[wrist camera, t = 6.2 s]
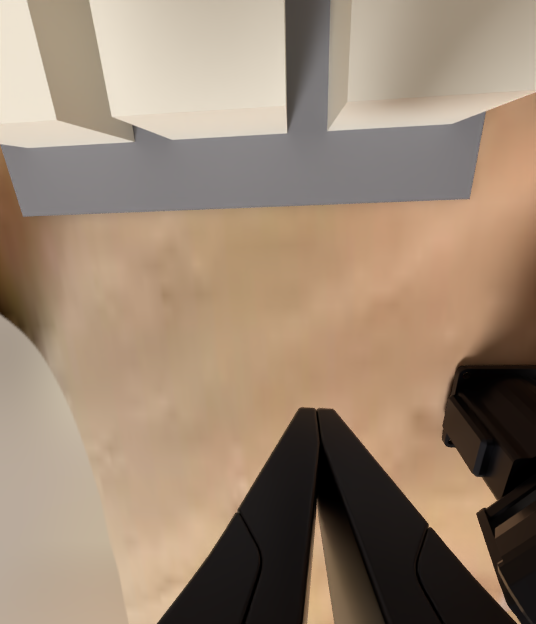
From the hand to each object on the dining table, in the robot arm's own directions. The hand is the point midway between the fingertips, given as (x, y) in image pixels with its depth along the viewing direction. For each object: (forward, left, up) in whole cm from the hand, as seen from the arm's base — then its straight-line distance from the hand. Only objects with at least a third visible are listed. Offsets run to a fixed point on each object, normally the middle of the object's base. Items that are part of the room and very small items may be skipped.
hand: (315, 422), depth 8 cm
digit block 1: (-4, -11, -12) cm, 17 cm away
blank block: (+4, -11, -12) cm, 17 cm away
